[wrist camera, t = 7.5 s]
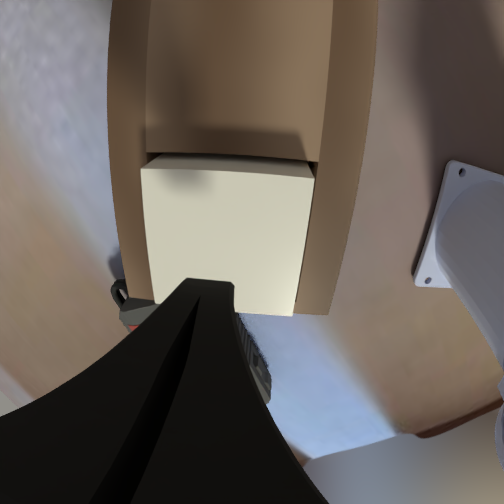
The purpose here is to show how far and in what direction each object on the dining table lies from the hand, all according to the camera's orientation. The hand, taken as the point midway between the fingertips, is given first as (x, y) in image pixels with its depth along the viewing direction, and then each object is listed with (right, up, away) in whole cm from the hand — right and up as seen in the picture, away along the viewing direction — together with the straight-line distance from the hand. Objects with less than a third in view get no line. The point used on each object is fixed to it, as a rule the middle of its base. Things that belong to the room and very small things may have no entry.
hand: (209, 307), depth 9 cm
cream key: (0, +3, +5) cm, 6 cm away
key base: (+1, +12, +2) cm, 13 cm away
